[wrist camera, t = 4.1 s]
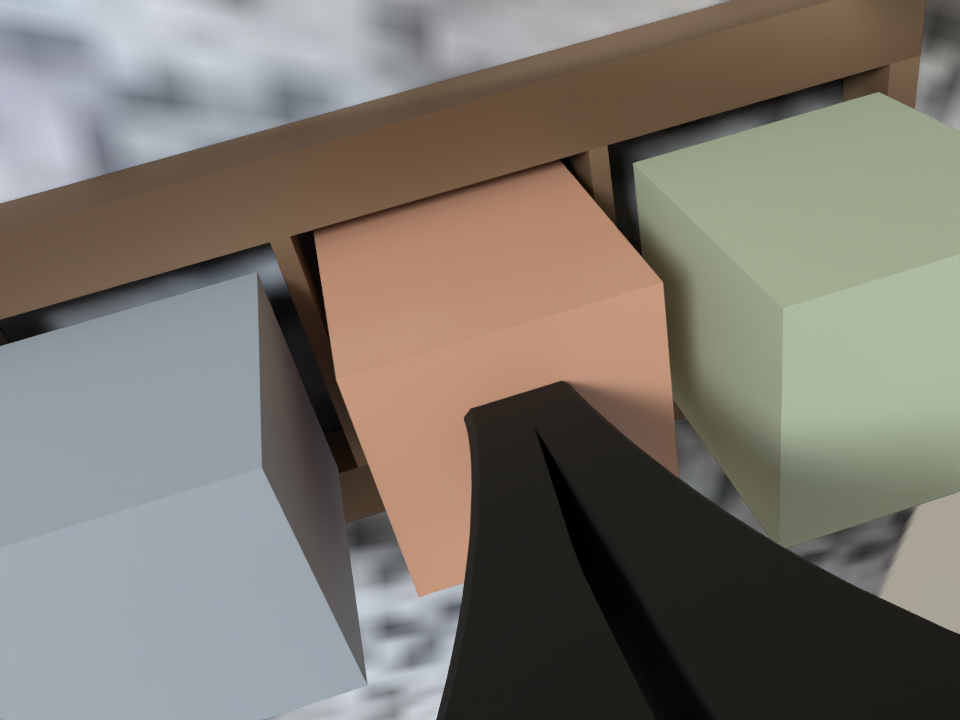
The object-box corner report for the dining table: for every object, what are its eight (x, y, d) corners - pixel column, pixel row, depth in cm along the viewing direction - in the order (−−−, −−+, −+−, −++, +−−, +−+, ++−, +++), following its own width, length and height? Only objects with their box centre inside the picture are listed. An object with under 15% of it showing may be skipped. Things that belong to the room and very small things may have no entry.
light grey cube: (337, 468, 15) (367, 685, 11) (110, 537, 14) (65, 784, 11) (256, 271, 12) (262, 467, 9) (-17, 350, 12) (-128, 586, 8)
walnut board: (851, 322, 17) (887, 353, 16) (113, 550, 16) (104, 598, 15) (879, -41, 13) (928, -27, 12) (-104, 232, 12) (-134, 270, 11)
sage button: (860, 306, 15) (1047, 462, 12) (653, 370, 15) (779, 550, 12) (879, 91, 13) (1116, 205, 9) (633, 163, 13) (784, 308, 9)
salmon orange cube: (584, 350, 16) (682, 512, 12) (379, 413, 16) (418, 597, 12) (553, 152, 14) (662, 282, 10) (311, 221, 13) (336, 379, 10)
